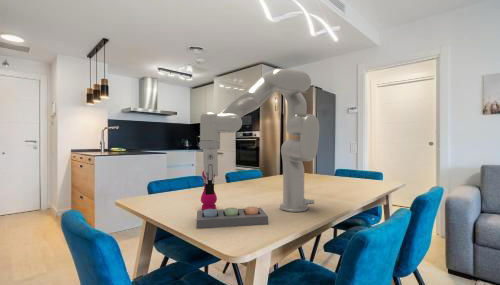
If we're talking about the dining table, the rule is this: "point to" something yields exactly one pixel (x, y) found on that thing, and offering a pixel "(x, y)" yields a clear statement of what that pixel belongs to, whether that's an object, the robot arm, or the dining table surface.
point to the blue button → (210, 213)
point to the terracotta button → (251, 210)
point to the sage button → (231, 212)
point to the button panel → (231, 219)
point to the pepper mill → (208, 197)
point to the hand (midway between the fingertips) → (209, 194)
